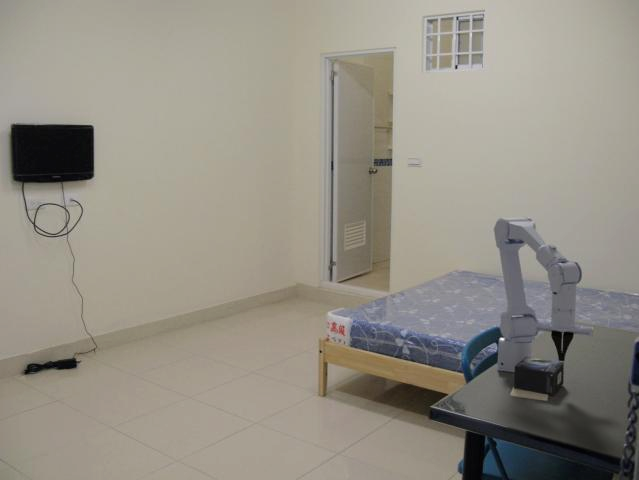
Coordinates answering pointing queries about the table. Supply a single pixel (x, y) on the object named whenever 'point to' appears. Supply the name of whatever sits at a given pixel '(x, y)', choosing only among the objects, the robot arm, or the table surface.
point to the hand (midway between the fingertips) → (561, 360)
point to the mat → (528, 394)
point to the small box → (539, 375)
